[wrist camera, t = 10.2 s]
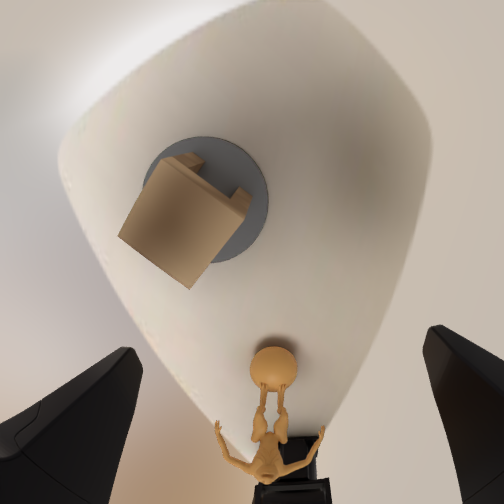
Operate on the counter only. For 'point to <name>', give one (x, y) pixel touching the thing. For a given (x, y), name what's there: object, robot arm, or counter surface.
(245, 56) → the counter surface
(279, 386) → the figurine
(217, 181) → the charcoal mat
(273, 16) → the counter surface
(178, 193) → the oak stool
